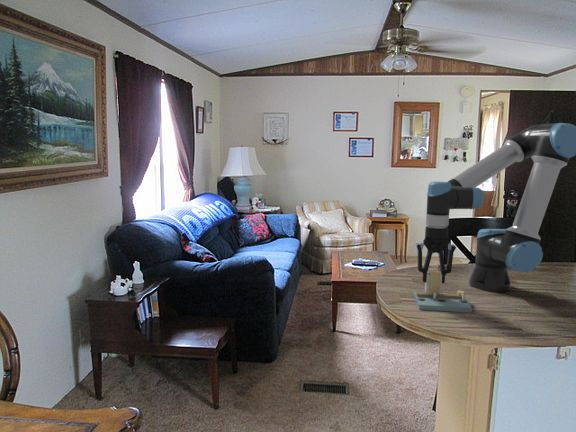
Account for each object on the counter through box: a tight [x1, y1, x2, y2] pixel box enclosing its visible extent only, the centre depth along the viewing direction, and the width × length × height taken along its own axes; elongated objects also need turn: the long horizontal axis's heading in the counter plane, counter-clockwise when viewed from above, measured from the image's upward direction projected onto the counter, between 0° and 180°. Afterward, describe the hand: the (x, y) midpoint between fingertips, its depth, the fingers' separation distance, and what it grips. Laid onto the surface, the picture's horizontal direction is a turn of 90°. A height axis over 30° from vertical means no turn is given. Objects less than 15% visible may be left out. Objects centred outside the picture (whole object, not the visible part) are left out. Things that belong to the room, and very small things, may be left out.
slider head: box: [426, 269, 441, 300], centre depth 160 cm, size 4×6×9 cm, turn 173°
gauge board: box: [412, 290, 473, 313], centre depth 159 cm, size 17×14×4 cm
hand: (432, 291), depth 162 cm, fingers closed on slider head, 4 cm apart
